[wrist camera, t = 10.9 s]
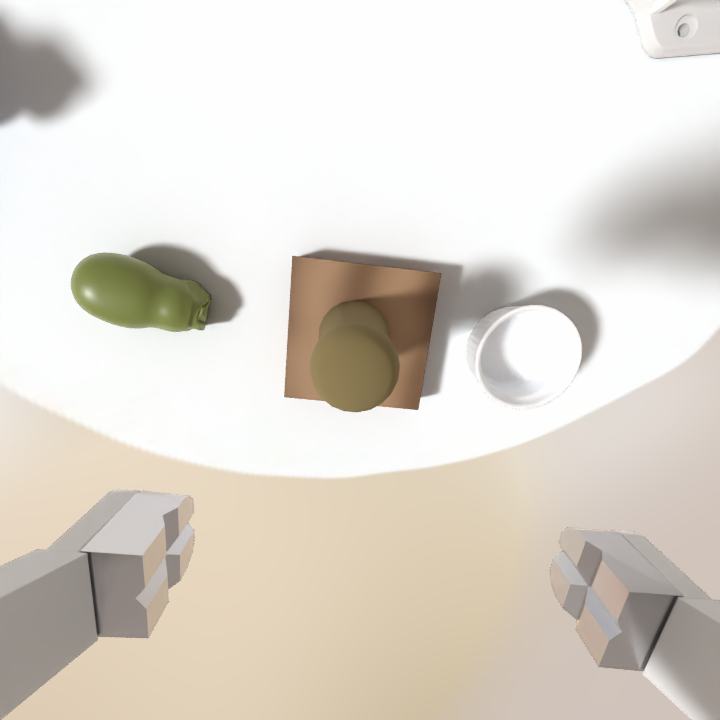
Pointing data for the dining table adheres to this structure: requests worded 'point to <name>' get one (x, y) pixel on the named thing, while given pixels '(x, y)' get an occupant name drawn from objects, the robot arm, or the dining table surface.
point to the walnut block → (376, 287)
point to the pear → (138, 294)
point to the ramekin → (524, 355)
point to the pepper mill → (354, 358)
